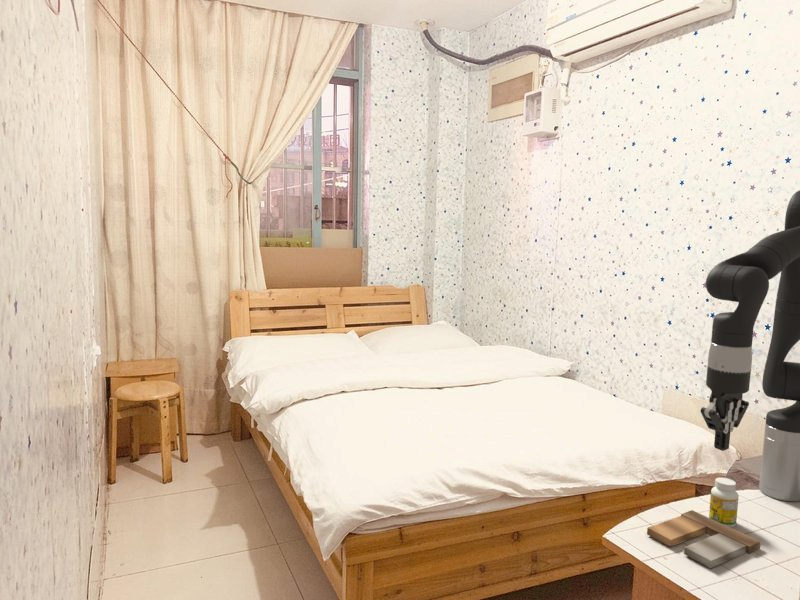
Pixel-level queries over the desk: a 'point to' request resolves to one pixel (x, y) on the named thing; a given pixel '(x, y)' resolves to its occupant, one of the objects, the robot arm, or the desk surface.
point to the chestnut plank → (676, 530)
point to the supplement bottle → (724, 502)
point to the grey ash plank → (714, 550)
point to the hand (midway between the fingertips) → (721, 448)
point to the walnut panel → (723, 530)
